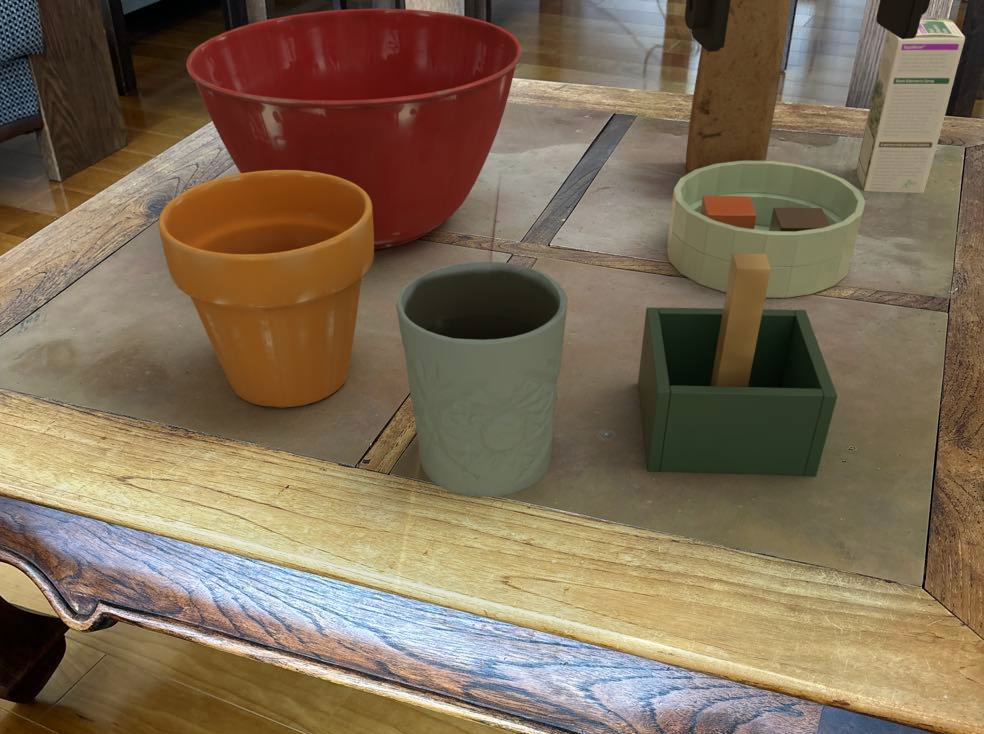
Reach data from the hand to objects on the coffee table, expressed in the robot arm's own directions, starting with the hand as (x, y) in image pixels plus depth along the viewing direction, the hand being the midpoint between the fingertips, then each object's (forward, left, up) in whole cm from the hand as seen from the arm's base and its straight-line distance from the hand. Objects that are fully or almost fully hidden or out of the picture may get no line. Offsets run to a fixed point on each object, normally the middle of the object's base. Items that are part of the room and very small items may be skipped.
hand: (801, 37), depth 51 cm
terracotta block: (-3, -30, -25) cm, 39 cm away
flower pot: (+31, -8, -26) cm, 41 cm away
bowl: (-6, -28, -26) cm, 39 cm away
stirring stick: (0, -2, -25) cm, 25 cm away
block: (-5, -45, -26) cm, 52 cm away
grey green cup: (+16, +2, -26) cm, 30 cm away
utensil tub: (0, -2, -26) cm, 26 cm away
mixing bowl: (+29, -36, -26) cm, 53 cm away
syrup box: (-21, -45, -26) cm, 56 cm away
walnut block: (-9, -27, -25) cm, 38 cm away
